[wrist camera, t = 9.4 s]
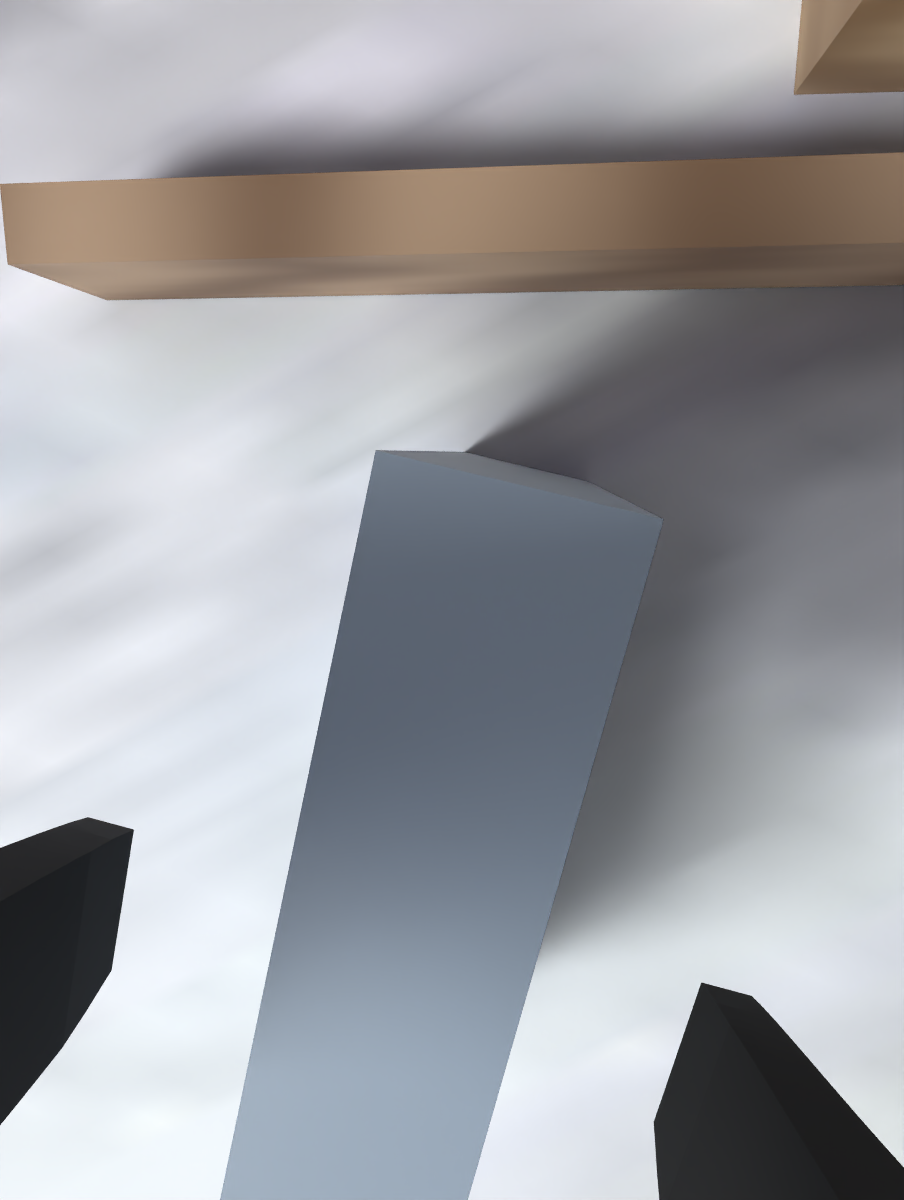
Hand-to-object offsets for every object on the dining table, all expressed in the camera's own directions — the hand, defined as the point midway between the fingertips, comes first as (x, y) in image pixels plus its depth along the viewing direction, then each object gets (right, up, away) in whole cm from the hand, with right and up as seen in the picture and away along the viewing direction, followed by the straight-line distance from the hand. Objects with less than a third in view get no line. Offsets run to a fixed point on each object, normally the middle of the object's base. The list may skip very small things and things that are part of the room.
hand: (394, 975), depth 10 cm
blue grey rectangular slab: (+1, +2, +7) cm, 7 cm away
